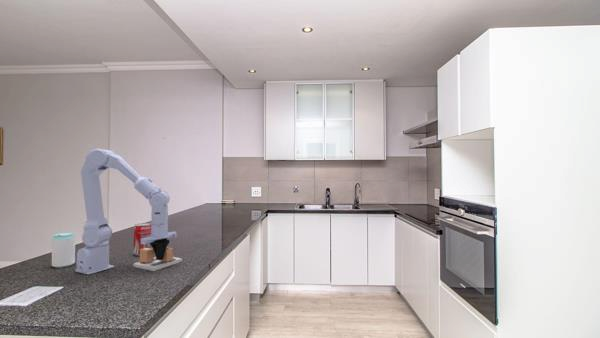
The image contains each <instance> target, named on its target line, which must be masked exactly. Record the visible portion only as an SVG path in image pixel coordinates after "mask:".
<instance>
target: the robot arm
mask: <svg viewBox="0 0 600 338" xmlns="http://www.w3.org/2000/svg"><path fill="white" fill-rule="evenodd" d="M107 169H115V170H118V171H119V173H121V174H122V175H124V176H125V177H126V178H127V179H129V180H130V181H131V182H132V183H133V185H134V189H135V190H136V192H137V191H138V193H139V194H141V195H142V196H143V198H145V199H146V200H148V202H149V205H150V206H151V217H150V218H151V220H150V224H151V236H148V237H145V238H142V239H141V244H144V245H145V244H147V243H150V245H151V246H152V249H153V250H154V257H156V260H162V259H163V256H164V253H165V250H166V247H168V245H169V243H170V239H172V238H177V237H178V233H177V231H169V210H168V209H169V208H168V203H169V202H170V199H171V198H170V195H169V194H168V192H167V191H164V190H163V189H162V188H161V187H158V186H157V185H156V184H155V183H154V182H153V181H154V180H153V179H152V178H151V177H146V176H141V175H140V174H139V173H138V172H137V171H136V170H135V169H134V168H133V167H132V166H131V165H129V164H128V163H127V161H126V160H125V159H123V157H122V156H121V155H119V154H117V153H116V152H115V151H114V150H112V149H111V150H110V149H103V148H94V149H92V150H90V151H89V152H88V153H87V154H85V161H84V163H83V166H82V167H81V171H80V177H81V182H82V191H83V198H84V206H85V213H86V221H85V223H84V225H83V233H82V235H81V240H82V243H83V244H84V245H85V246H84V247H81V248H79V249H78V250H77V252H76V269H75V272H76V273H80V274H84V275H91V274H95V273H98V272H99V273H100V272H102V271H105V270H109V269H112V268H115V265H112V264H110V239H111V238H112V235H113V230H112V228H111V227H110V225H109V221H108V219H107V218H106V217H105V213H104V211H105V209H104V203H103V195H102V189H101V181H100V179H101V178H100V175H101V174H103V172H104V171H106V170H107Z"/></svg>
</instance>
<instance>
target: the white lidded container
mask: <svg viewBox="0 0 600 338" xmlns="http://www.w3.org/2000/svg"><path fill="white" fill-rule="evenodd" d="M75 263H76V236H75V235H74V233H73V232H61V233H56V234H53V238H51V266H52V267H53V268H56V269H58V268H67V267H70V266H73V265H74V264H75Z"/></svg>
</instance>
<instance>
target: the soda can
mask: <svg viewBox="0 0 600 338" xmlns="http://www.w3.org/2000/svg"><path fill="white" fill-rule="evenodd" d="M148 236H151V222H141V223H136V224H134V227H133V254H134V255H135V256H136V257H140V249H143V248H151V249H153V248H152V246H151V245H150V243H147V244H145V245H144V244H141V239H142V238H145V237H148Z"/></svg>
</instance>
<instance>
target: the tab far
mask: <svg viewBox="0 0 600 338" xmlns="http://www.w3.org/2000/svg"><path fill="white" fill-rule="evenodd" d="M154 257H155V253H154V250H153V248H152V249H151V248H143V249H140V256H139V262H145V263H148V262H151V261H154Z"/></svg>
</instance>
